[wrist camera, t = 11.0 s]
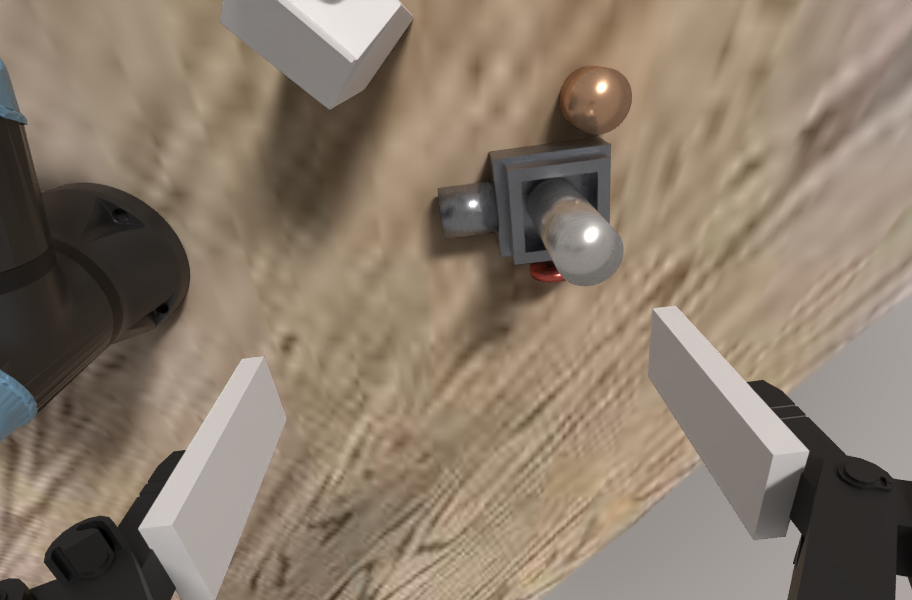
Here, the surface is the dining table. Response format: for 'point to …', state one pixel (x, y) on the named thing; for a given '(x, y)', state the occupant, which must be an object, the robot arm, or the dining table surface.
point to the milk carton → (320, 40)
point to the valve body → (526, 197)
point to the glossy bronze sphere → (595, 99)
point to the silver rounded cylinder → (574, 233)
